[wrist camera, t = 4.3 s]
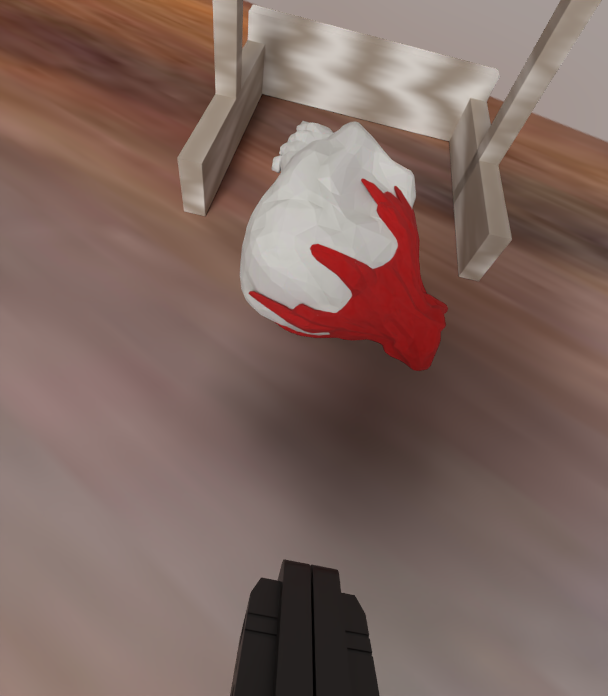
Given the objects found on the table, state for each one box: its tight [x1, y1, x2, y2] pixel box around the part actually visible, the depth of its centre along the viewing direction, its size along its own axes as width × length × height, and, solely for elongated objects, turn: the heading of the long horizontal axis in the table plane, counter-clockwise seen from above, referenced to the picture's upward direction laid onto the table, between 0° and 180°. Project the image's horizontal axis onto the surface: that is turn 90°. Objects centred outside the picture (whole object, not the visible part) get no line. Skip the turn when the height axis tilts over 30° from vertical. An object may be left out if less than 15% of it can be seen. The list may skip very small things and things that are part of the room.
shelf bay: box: [178, 0, 602, 281], centre depth 24 cm, size 22×20×21 cm
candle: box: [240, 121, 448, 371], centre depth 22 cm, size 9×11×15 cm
